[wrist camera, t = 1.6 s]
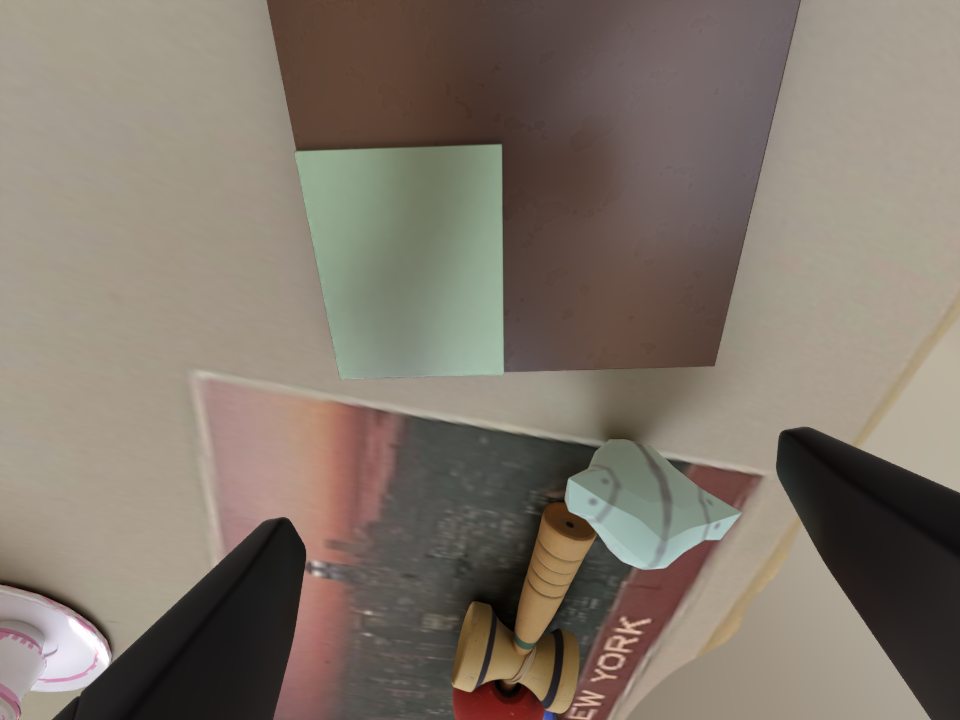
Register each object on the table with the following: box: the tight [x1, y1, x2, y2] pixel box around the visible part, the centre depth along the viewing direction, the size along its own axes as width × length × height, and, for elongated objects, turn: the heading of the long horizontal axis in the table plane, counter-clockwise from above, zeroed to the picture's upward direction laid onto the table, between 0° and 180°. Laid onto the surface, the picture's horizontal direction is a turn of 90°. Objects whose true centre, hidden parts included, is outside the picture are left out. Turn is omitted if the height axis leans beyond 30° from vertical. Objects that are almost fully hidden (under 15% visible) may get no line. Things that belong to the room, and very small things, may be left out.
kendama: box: [452, 502, 597, 720], centre depth 29 cm, size 8×6×18 cm
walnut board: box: [267, 0, 801, 379], centre depth 17 cm, size 16×20×2 cm
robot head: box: [565, 439, 742, 570], centre depth 22 cm, size 8×4×7 cm, turn 75°
